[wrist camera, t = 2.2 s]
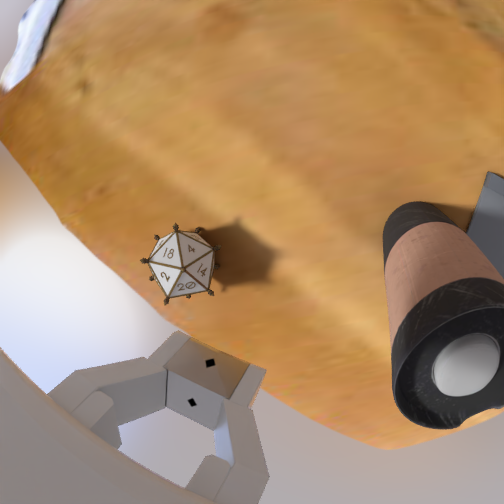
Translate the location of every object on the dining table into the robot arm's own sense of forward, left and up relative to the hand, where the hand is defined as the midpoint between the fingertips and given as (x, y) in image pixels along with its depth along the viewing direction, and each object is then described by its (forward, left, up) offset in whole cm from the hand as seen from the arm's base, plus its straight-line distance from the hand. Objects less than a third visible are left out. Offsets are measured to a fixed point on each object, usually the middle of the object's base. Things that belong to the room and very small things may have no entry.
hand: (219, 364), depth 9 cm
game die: (+10, -12, -24) cm, 28 cm away
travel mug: (0, +10, -24) cm, 26 cm away
